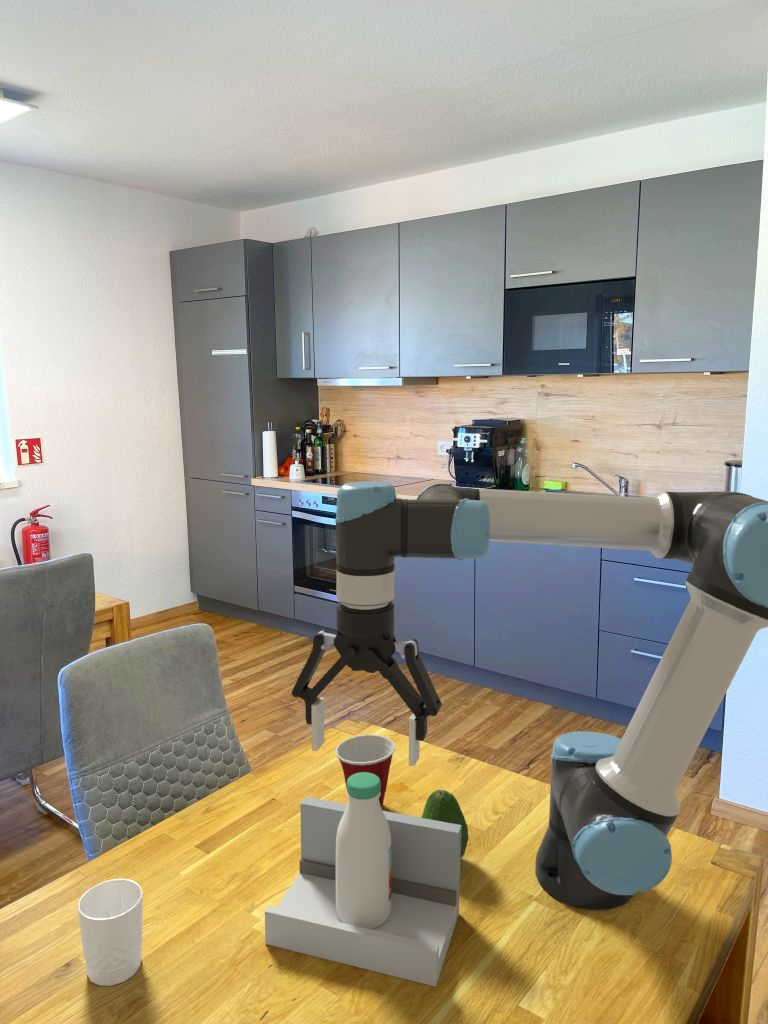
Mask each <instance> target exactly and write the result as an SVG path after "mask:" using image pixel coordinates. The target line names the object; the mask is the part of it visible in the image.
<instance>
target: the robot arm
mask: <svg viewBox="0 0 768 1024" xmlns="http://www.w3.org/2000/svg"><path fill="white" fill-rule="evenodd" d="M336 494H337V495H336V512H335V513H336V516H335V520H334V521H335V540H336V541H335V547H336V548H335V549H336V550H335V554H336V586H335V587H336V590H335V591H336V599H337V601H339V602H338V603H337V604H336V634H333V633H329V630H327V629H323V628H322V629H321V630H320V631H319V632H317V633H316V634H315V635H314V636H313V641H312V650H311V652H310V654H309V656H308V658H307V660H306V662H305V664H304V666H303V668H302V670H301V672H300V674H299V676H298V678H297V679H296V682H295V684H294V686H293V688H292V690H291V695H292V697H294V698H300V699H301V700H303V701H304V705H305V710H304V711H305V722H306V724H307V725H311V750H312V751H314V752H318V751H319V750H320V748H321V747H322V746H323V744H325V742H326V741H325V740H326V739H325V697H319V695H321V693H322V692H323V691H324V690H325V689H326V688H327V687H328V686H329V684H330V683H331V682H332V681H333V680H334V679H335V678H336V677H337V676H338V675H339V674H340V673H341V671H343V669H344V668H345V667H346V666H347V667H348V668H349V669H351V671H353V672H354V671H355V672H360V671H364V672H366V673H370V674H375V673H376V672H379V674H380V675H381V677H382V678H384V679H386V680H387V681H388V683H389V684H390V685H391V686H392V688H393V690H395V692H396V693H397V694H398V696H399V697H400V698H401V700H402V701H403V702H404V704H405V705H406V707H408V709H409V710H410V711H411V713H412V714H411V715H410V717H409V718H408V719H409V720H408V766H410V767H416V764H417V763H418V761H419V758H420V749H421V748H420V745H421V744H420V741H421V742H422V741H424V740H425V738H426V736H427V734H428V717H430V716H432V717H436V716H438V714H439V712H440V710H441V708H442V701H441V699H440V697H439V694H438V692H437V690H436V688H435V686H434V684H433V682H432V679H431V677H430V676H429V674H428V671H427V669H426V667H425V665H424V663H423V661H422V660H423V659H422V658H421V656H420V650H419V641H418V640H417V639H416V638H411V639H410V640H407V641H397V640H396V639H397V638H396V637H395V604H394V603H393V600H394V599H395V558H402V559H403V558H404V559H405V558H406V559H407V558H408V559H409V558H413V559H415V558H417V559H418V558H419V559H445V560H446V559H447V560H448V559H450V560H451V559H452V560H453V559H454V560H455V559H456V560H458V561H463V560H465V559H466V560H467V559H480V558H481V559H482V558H483V557H485V556H486V555H487V553H488V551H489V548H490V542H497V543H498V542H499V543H515V544H516V543H517V544H533V545H548V546H549V545H550V546H566V547H567V546H568V547H580V548H581V547H584V548H599V549H601V548H602V549H616V550H629V551H630V550H632V551H634V550H635V551H646V552H647V551H649V552H650V553H651V554H652V555H653V556H654V557H655V558H657V559H661V560H662V559H664V560H675V561H681V562H685V563H688V564H691V565H692V566H691V569H690V571H689V573H688V575H687V577H686V579H685V582H684V583H685V586H686V589H687V591H688V594H689V595H690V596H689V597H690V600H689V602H688V604H687V605H686V608H685V610H684V612H683V613H682V616H681V618H680V620H679V622H678V624H677V626H676V628H675V629H674V632H673V635H672V636H671V639H670V640H669V642H668V645H667V647H666V648H665V651H664V653H663V655H662V657H661V658H660V661H659V663H658V665H657V667H656V669H655V671H654V673H653V675H652V677H651V679H650V681H649V683H648V684H647V688H645V691H644V693H643V695H642V697H641V699H640V702H639V703H638V706H637V707H636V709H635V712H634V714H633V715H632V717H631V720H630V721H629V723H628V726H627V728H626V729H625V731H624V734H623V736H622V738H620V737H617V736H615V735H611V734H607V733H602V732H595V731H586V730H585V731H570V732H566V733H563V734H561V735H558V737H557V738H555V740H554V741H553V745H552V750H551V751H552V752H551V754H550V759H551V767H550V768H551V769H550V789H549V790H550V793H549V795H550V796H549V810H548V811H549V814H548V815H549V817H548V818H549V819H548V826H547V828H546V831H545V833H544V835H543V837H542V839H541V843H540V844H539V847H538V850H537V852H536V856H535V871H534V872H535V877H536V880H537V881H538V883H539V885H540V886H541V887H542V888H543V889H544V891H546V892H547V893H548V894H549V895H550V896H552V897H553V898H555V899H557V900H558V901H561V902H562V903H565V904H567V905H570V906H572V907H575V908H580V909H584V910H591V911H592V910H594V911H606V910H612V909H616V908H620V907H622V906H623V905H625V904H627V903H628V902H629V901H630V900H631V899H632V898H633V897H634V895H635V894H636V893H641V892H642V893H646V892H648V891H651V890H652V889H654V888H656V887H657V886H658V885H660V883H662V882H663V880H664V879H665V878H666V877H667V875H668V874H669V872H670V869H671V867H672V862H673V855H672V846H671V845H672V844H671V843H670V841H669V838H667V837H668V835H669V834H670V831H671V830H672V827H673V825H674V823H675V822H676V820H677V818H678V815H679V814H680V811H681V805H680V804H681V803H680V801H679V799H678V796H677V794H676V791H677V789H678V787H679V785H680V783H681V781H682V778H683V777H684V775H685V773H686V771H687V770H688V767H689V765H690V763H691V762H692V759H693V758H694V755H695V753H696V752H697V750H698V749H699V746H700V744H701V742H702V740H703V738H704V736H705V734H706V732H707V731H708V728H709V726H710V724H711V723H712V721H713V719H714V718H715V715H716V713H717V711H718V709H719V707H720V705H721V703H722V701H723V699H724V697H725V695H726V694H727V692H728V690H729V687H730V686H731V684H732V682H733V681H734V677H735V676H736V675H737V672H738V670H739V669H740V667H741V664H742V663H743V661H744V659H745V657H746V655H747V652H748V651H749V649H750V647H751V645H752V643H753V641H754V639H755V637H756V635H757V633H758V632H759V631H760V630H762V629H766V628H768V500H765V499H761V498H759V497H758V498H757V497H754V496H753V495H750V494H746V493H743V492H737V491H723V490H722V491H665V490H664V491H659V492H658V493H657V494H656V495H655V496H654V497H638V496H625V495H623V496H620V495H619V496H618V495H604V494H603V495H602V494H589V493H588V494H584V493H570V492H569V493H567V492H551V491H549V492H547V491H531V490H530V491H529V490H513V489H512V490H511V489H510V490H509V489H494V488H493V489H492V488H472V487H455V485H451V484H450V483H449V484H448V483H442V482H441V483H433V484H431V485H429V486H427V487H426V488H424V489H422V491H421V492H420V493H419V494H418V496H417V498H415V499H408V498H399V497H397V494H396V489H395V486H394V485H393V484H391V483H390V482H385V481H383V482H382V481H381V482H380V481H372V480H371V481H367V480H366V481H365V480H364V481H353V482H346V483H344V484H342V485H341V487H339V489H338V490H337V492H336ZM332 645H333V646H334V648H335V650H336V651H337V652H338V654H339V655H340V657H339V658H338V659H337V660H336V661H335V662H334V664H333V665H332V666H331V667H330V668H329V669H328V670H327V671H326V673H324V674H323V676H322V677H321V678H320V679H319V680H318V682H317V683H316V684H315V685H314V686H313V687H312V688H311V687H309V685H310V682H311V680H312V679H313V677H314V675H315V673H316V671H317V669H318V667H319V665H320V663H321V660H323V657H324V655H325V653H326V652H327V650H328V649H330V648H331V647H332ZM396 652H397V653H399V655H400V657H401V659H403V660H405V663H406V664H405V665H406V667H407V670H408V671H409V674H410V676H411V677H412V678H411V679H413V683H414V684H415V686H416V688H417V689H416V688H415V686H414V685H413V684H412V683H411V681H410V680H409V679H408V678H407V676H406V675H405V673H404V672H403V671H402V669H401V668H400V667H399V663H398V662H397V660H396V659H395V658H394V657H393V656H394V654H395V653H396ZM417 690H418V691H417Z"/></svg>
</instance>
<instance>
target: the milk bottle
mask: <svg viewBox="0 0 768 1024" xmlns="http://www.w3.org/2000/svg"><path fill="white" fill-rule="evenodd" d="M380 789H381V782H380V779H379V777H378V776H376V775H375V774H372V773H367V772H361V773H356V774H353V775H351V776H350V777H349V778H348V780H347V788H346V796H347V798H348V799H347V800H348V801H347V803H346V804H347V807H346V810H345V812H344V814H343V816H342V818H341V820H340V823H339V826H338V830H337V836H336V912H337V915H338V917H339V919H340V920H341V922H342V923H346V924H350V925H354V926H358V927H363V928H367V929H373V928H376V927H378V926H380V925H382V924H383V923H384V922H385V921H386V920H387V919H388V917H389V915H390V912H391V870H392V869H391V834H390V828H389V825H388V822H387V819H386V817H385V815H384V813H383V811H384V810H383V808H382V809H381V806H380V803H379V797H380V795H381V793H380Z"/></svg>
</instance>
